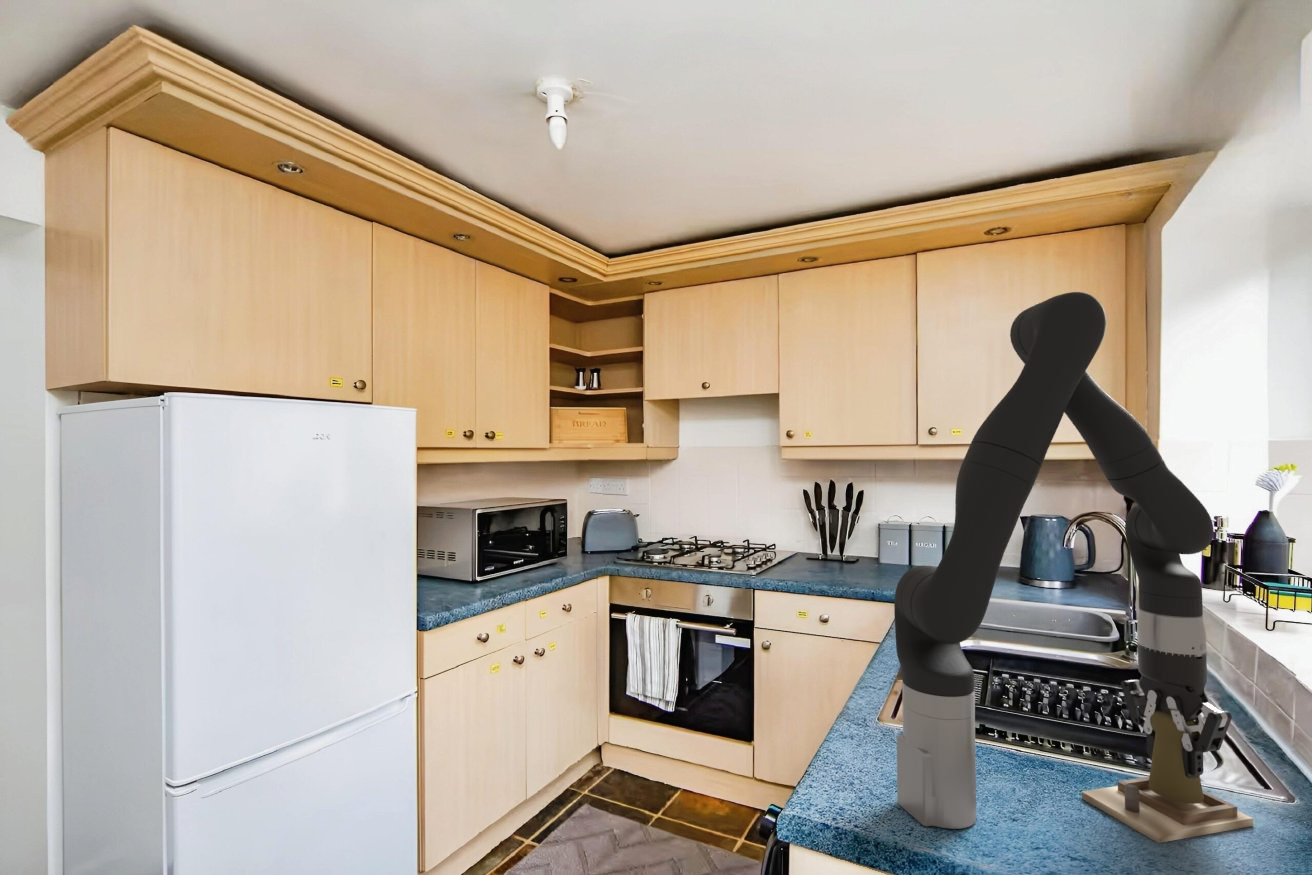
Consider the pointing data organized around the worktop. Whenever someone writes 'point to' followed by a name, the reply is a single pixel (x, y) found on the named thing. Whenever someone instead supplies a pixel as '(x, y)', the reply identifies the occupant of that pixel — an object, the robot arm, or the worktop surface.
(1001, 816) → the worktop surface
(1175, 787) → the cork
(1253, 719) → the worktop surface
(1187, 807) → the socket plate
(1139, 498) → the robot arm
